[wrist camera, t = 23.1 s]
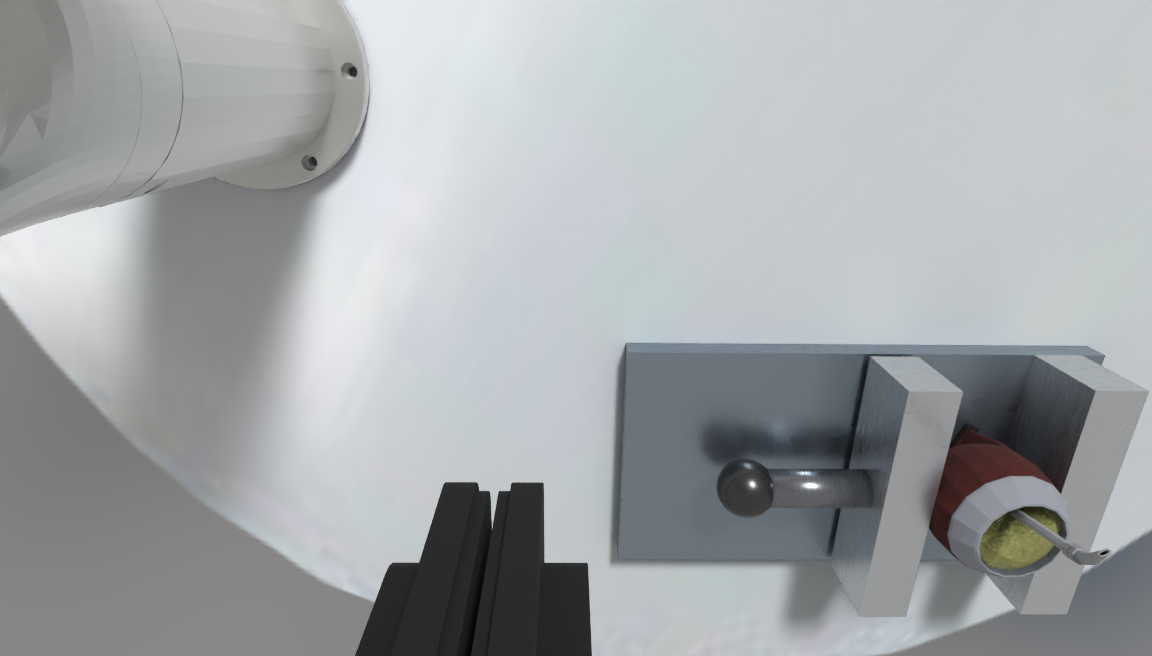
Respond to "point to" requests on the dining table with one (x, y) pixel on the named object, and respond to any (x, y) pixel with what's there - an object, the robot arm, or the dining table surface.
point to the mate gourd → (1001, 510)
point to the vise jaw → (870, 483)
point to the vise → (851, 442)
